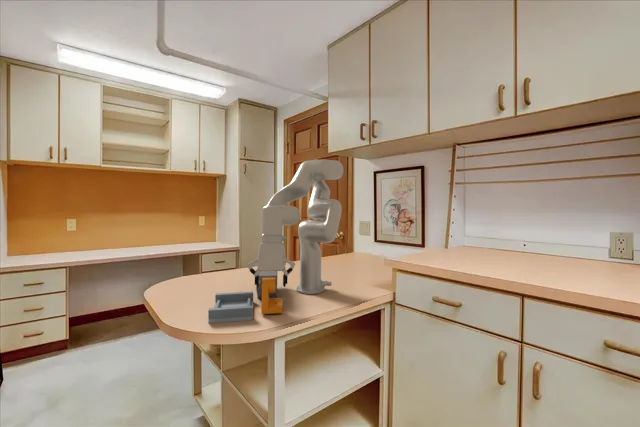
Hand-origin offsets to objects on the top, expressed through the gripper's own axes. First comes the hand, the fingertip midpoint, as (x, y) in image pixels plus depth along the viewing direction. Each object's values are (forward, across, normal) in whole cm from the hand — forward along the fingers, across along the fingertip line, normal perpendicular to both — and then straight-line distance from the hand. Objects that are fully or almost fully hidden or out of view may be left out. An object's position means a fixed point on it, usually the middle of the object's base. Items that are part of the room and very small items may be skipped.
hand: (271, 286), depth 106 cm
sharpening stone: (+9, 0, -21) cm, 23 cm away
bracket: (+9, -1, -1) cm, 9 cm away
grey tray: (+9, +13, -2) cm, 16 cm away
